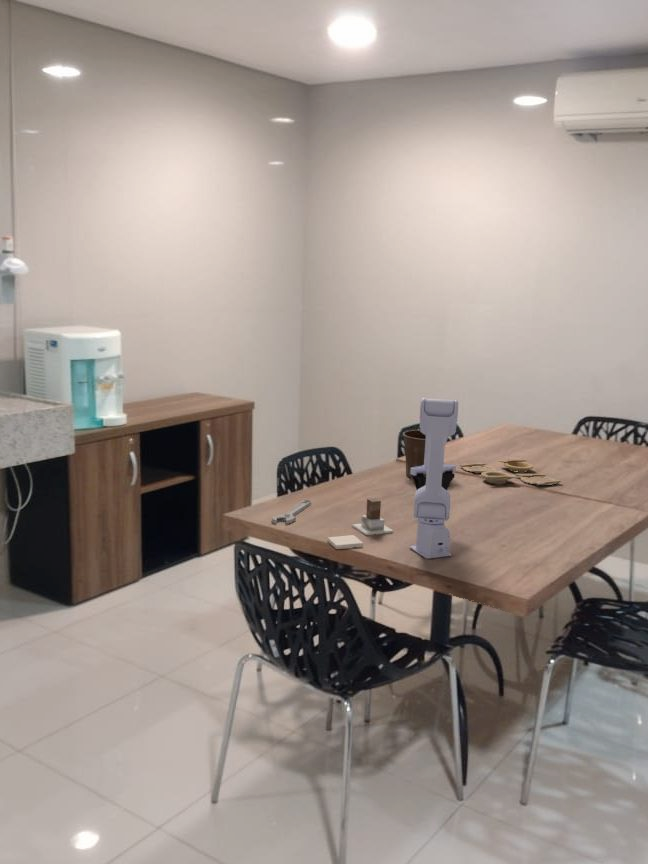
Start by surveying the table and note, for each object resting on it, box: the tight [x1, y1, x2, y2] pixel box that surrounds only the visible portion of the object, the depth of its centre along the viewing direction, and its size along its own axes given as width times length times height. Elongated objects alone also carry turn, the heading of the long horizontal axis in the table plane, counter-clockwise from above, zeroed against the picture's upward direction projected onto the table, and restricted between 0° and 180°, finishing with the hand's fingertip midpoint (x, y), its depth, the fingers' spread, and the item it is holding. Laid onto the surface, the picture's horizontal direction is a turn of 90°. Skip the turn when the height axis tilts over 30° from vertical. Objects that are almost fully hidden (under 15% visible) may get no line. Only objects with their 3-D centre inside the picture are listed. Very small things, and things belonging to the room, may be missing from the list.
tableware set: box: [459, 458, 562, 486], centre depth 320 cm, size 35×29×4 cm
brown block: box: [360, 497, 385, 531], centre depth 248 cm, size 6×4×8 cm
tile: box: [326, 534, 364, 550], centre depth 235 cm, size 7×2×8 cm
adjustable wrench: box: [271, 499, 312, 525], centre depth 262 cm, size 25×6×2 cm, turn 156°
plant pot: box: [402, 429, 427, 479], centre depth 313 cm, size 16×16×16 cm
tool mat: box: [351, 523, 394, 536], centre depth 249 cm, size 9×9×1 cm
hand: (431, 496), depth 248 cm, fingers open, 7 cm apart
